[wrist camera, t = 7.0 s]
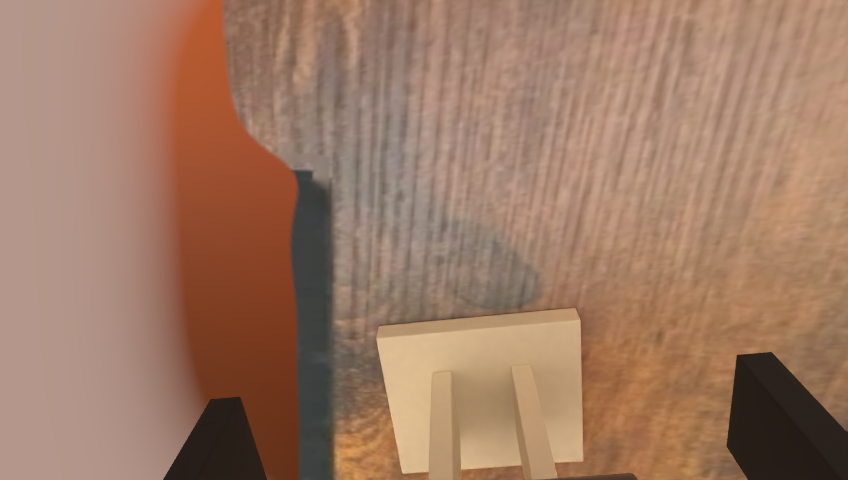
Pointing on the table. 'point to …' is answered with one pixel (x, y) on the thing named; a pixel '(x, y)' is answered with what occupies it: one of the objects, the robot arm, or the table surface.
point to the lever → (600, 477)
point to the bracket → (485, 392)
